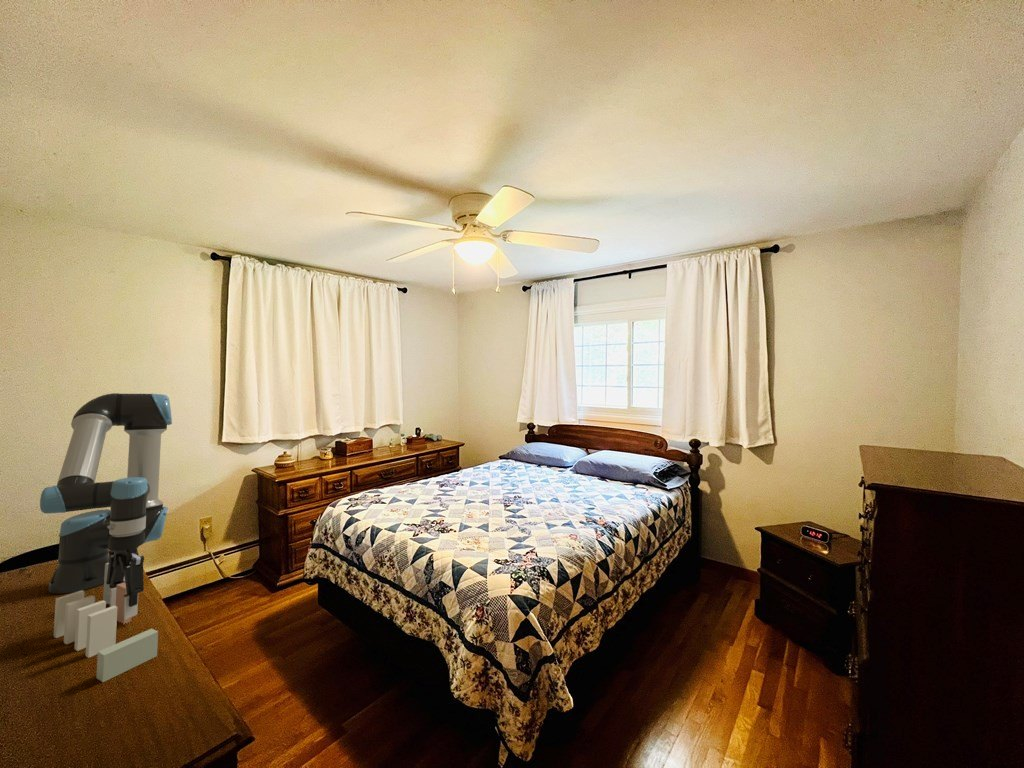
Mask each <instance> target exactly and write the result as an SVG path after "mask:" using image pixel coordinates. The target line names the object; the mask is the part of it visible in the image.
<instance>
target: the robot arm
mask: <svg viewBox="0 0 1024 768" xmlns="http://www.w3.org/2000/svg"><path fill="white" fill-rule="evenodd" d="M171 409H172V408H171V403H170V398H169V396H168V395H166V394H162V393H119V392H117V393H115V392H114V393H112V392H111V393H107V394H106V393H105V394H102V395H100V396H99V395H98V396H97V397H95V398H92V399H91V400H89V401H88V402H86V403H85V404H83V405H82V406H81V407H80V408H79V409H78V410H77V411H76V412H75V414H73V417H72V419H71V423H70V426H71V428H72V430H73V431H72V435H71V437H70V441H69V444H68V447H67V450H66V452H65V453H66V454H65V456H64V460H63V463H62V467H61V469H60V472H59V475H58V480H57V484H56V485H52V486H47V487H45V488H44V489H43V490H42V491H41V494H40V500H39V507H40V511H41V512H42V513H43V514H47V515H48V514H59V513H60V514H65V513H68V512H70V513H71V512H76V511H84V510H85V511H86V510H91V511H86V512H83V513H79V514H76V515H74V516H70V517H69V518H66V519H65V520H64V521H62V522H61V524H60V527H59V528H60V529H59V534H58V537H59V541H58V544H59V545H58V562H57V567H56V568H55V570H54V573H53V575H52V577H51V578H50V581H49V583H48V592H49V593H51V594H72V593H75V592H78V591H81V590H82V591H84V590H89V589H92V588H95V587H99V586H101V585H104V575H105V564H106V563H109V565H108V574H107V582H106V584H107V585H108V584H110V585H109V587H110V588H112V589H111V593H110V604H109V607H112V606H116V588H117V585H118V584H121V583H126V591H127V594H126V595H124V597H125V601H124V619H128V618H130V617H131V618H133V617H135V616H137V615H138V607H139V606H138V604H139V593H142V592H144V561H145V557H144V555H141V556H139V550H138V549H139V547H140V546H142V545H143V544H146V543H149V542H153V541H158V540H159V539H160V538H161V537H162V536H163V532H164V528H165V522H166V519H167V514H168V506H164V502H163V501H162V500H160V499H159V482H160V481H159V480H160V466H161V465H160V464H161V443H162V441H161V440H162V434H163V433H164V432H166V431H167V430H168V429H167V428H168V426H170V425H172V424H173V419H172V410H171ZM115 426H116V427H118V426H119V427H120V426H121V427H124V428H123V431H124V432H125V433H126V434H128V435H129V439H128V440H129V442H128V457H127V459H128V460H127V475H126V477H122V478H119V479H116V480H112V481H103V482H102V481H101V482H95V481H96V478H97V474H98V469H99V465H100V460H101V457H102V453H103V448H104V444H105V440H106V436H107V432H109V431H110V430H111V429H112V428H113V427H115ZM104 508H106V509H104ZM107 508H110V509H107ZM96 509H98V510H96ZM128 566H130V567H128ZM124 576H125V581H123V579H124Z"/></svg>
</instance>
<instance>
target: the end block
mask: <svg viewBox="0 0 1024 768" xmlns="http://www.w3.org/2000/svg"><path fill="white" fill-rule="evenodd" d="M158 643H159V631H158V630H156V629H154V628H149V629H147V630H145V631H142V632H140V633H138V634H135V635H134V636H131V637H128V638H126V639H124V640H121V641H119V642H117V643H116V644H114V645H112V646H110V647H107V648H105V649H103V650H100V651H98V654H97V661H96V678H95V679H97V680H98V681H99V682H102V683H104V682H106V681H108V680H111V679H112V678H115V677H116V676H119V675H121V674H124V673H125V672H127V671H130V670H131V669H134V668H136V667H138V666H139V665H142V664H144V663H146V662H148V661H149V660H152V659H154V658H156V657H158Z"/></svg>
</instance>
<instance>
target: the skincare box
mask: <svg viewBox="0 0 1024 768" xmlns="http://www.w3.org/2000/svg"><path fill="white" fill-rule="evenodd" d="M108 565H109V563H106V564H105V575H104V584H103V593H102V594H103V595H102V596H103V597H102V600H104V601H106V605H110V593H111V589H112V588H110V587H109V585H110V584H108V585H107V584H106V582H107V574H108ZM128 567H130V566H128ZM123 581H125V576H124V579H123Z"/></svg>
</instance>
